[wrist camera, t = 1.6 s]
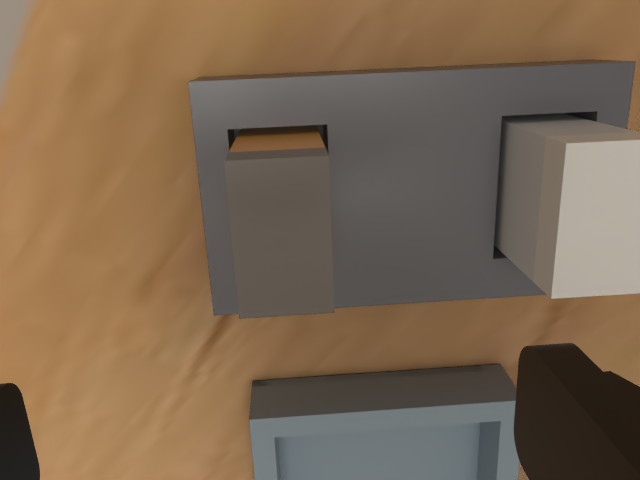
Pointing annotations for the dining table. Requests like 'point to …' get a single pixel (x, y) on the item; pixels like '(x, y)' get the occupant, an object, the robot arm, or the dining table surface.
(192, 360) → the dining table surface
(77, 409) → the dining table surface
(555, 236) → the block
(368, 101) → the fuse holder
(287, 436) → the parts tray
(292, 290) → the block
